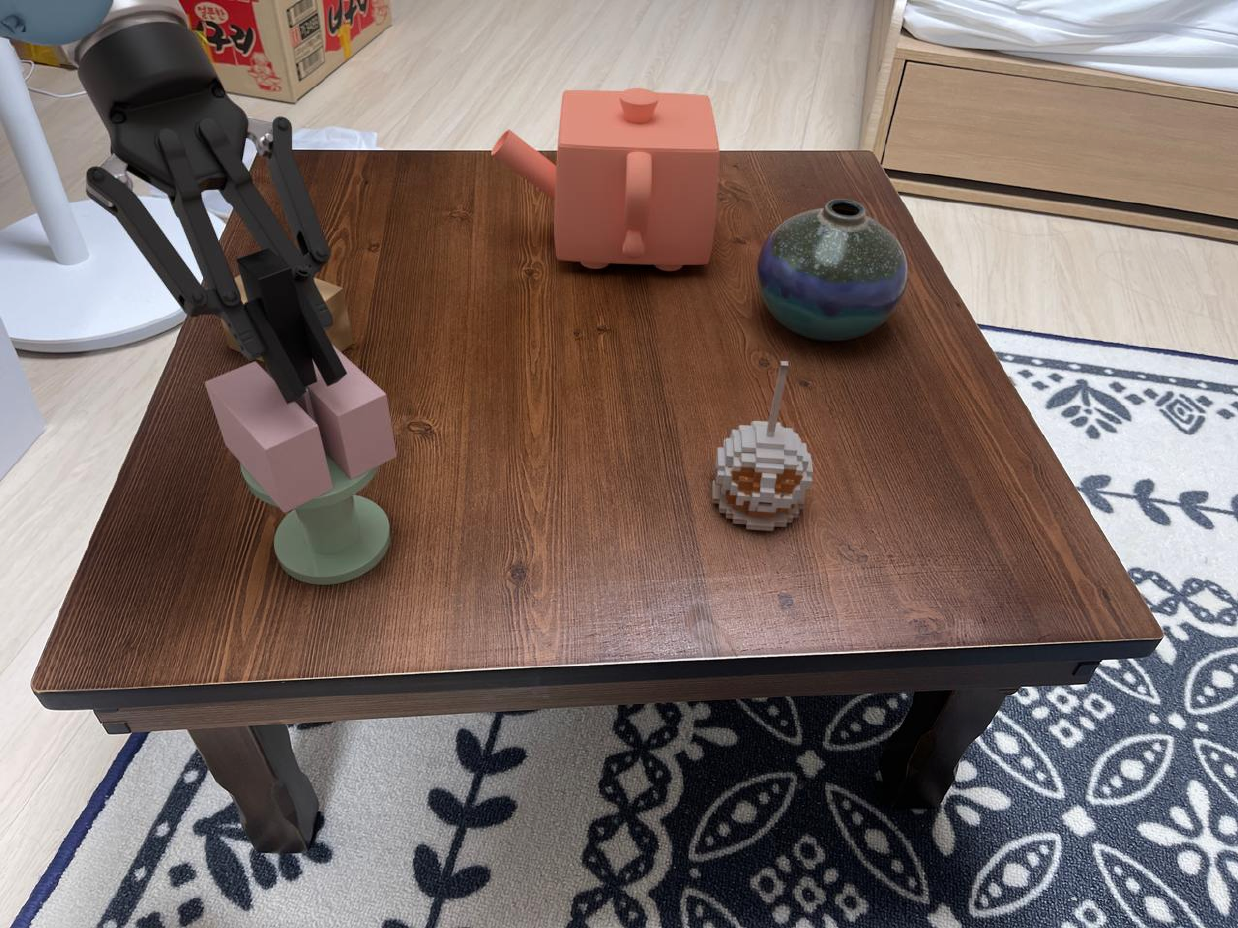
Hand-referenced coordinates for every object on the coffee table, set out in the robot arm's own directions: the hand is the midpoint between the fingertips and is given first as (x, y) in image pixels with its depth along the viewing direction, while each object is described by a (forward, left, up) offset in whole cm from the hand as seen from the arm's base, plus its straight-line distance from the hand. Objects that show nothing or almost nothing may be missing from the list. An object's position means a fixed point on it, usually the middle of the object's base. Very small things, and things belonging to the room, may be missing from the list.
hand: (316, 388), depth 61 cm
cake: (0, +4, -8) cm, 9 cm away
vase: (+56, -1, -19) cm, 59 cm away
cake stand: (0, +4, -18) cm, 19 cm away
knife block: (+10, +30, -18) cm, 36 cm away
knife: (0, +4, -8) cm, 9 cm away
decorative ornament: (+30, -15, -19) cm, 38 cm away
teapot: (+48, +26, -19) cm, 58 cm away
